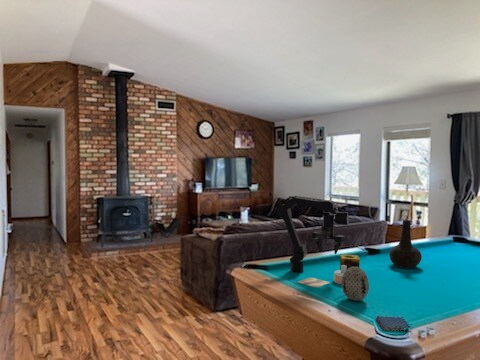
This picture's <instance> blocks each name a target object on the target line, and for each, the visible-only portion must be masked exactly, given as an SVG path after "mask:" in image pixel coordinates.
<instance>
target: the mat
mask: <svg viewBox="0 0 480 360" xmlns="http://www.w3.org/2000/svg"><path fill="white" fill-rule="evenodd" d="M297 283H298V284H303V285H305V286H310V287H313V288H316V289H317V288H320V287H322V286H325V285H327V284H330V283H331V282H330V281H326V280H322V279H318V278H315V277H307V278H304V279H301V280H299V281H297Z"/></svg>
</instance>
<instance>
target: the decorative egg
mask: <svg viewBox="0 0 480 360" xmlns="http://www.w3.org/2000/svg"><path fill="white" fill-rule="evenodd" d="M341 289H342V292H343V294H344V295H345V297H346V298H347V299H349V300H351V301H355V302H357V301H358V302H359V301H362V300H363V299H365V298H366V297H367V296H368V294H369V292H370V282H369V278H368V275H367V274H366V272H365V271H364V269H362V268H361V267H360V266H359V267H356V266H353V267H350V268H348V269H347V270H346V271H345V273H344V275H343V277H342V284H341Z"/></svg>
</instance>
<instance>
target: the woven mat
mask: <svg viewBox="0 0 480 360" xmlns="http://www.w3.org/2000/svg"><path fill="white" fill-rule="evenodd" d="M375 319H376V320H375V321H376V322H377V323H378V324H379V327H380V326H381V327H380V328H381V329H382V328H383V329H384V330H385V331H390V330H391V331H393V330H394V331H396V330H397V331H399V330H398V329H400V331H401V329H402V330H404V328H407V327H408V328H412V327H411V325H410V324H409V323H408V322H407V321H406V320H405V318H404V317H403V316H402V317H401V316H400V317H399V316H397V317H396V316H387V315H386V316H384V315H382V316H381V315H380V316H379V315H377V316H376V317H375ZM383 329H382V330H383ZM404 331H405V330H404Z"/></svg>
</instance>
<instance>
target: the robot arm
mask: <svg viewBox="0 0 480 360" xmlns="http://www.w3.org/2000/svg"><path fill="white" fill-rule="evenodd" d="M297 205H298V206H299V205H300V206H305V207H311V208H316V209H319V210H321V212H320V213H319V216H322V217H323V219H322V225H321V227H320V229H319V230H318V231H313V232H311V234H310V238H311V239H312V240H314V241H315V242H316V244H317V247H318V250H319V252H322V250H323V243H324V242H323V240H326V239H329V240H334V241H333V244H334V255H338V254H337V253H338V251H339V250H340V247H341V245H342V244H344V243H345V242H347V236H345V235H341V234H338V235H336V233H334V232H335V228H336V225H340V226H348V225H349V223H350V218H349V211H348V212H346V211H345V212H341V211H339V210H338V209H337V207H336V203H335V202H334V201H333V200H330V199H329V200H328V199H327V200H326V199H325V200H322V199H321V200H316V199H311V198H305V197H304V198H303V197H299V196H294V197H292V198H291V199H289V200H288V201H286V202H285V203H283V204H280V205H278V207H277V213H278V215H279V216H280V218H281V219H282V220H283V221H284V224H285V227H286V230H287V233H288V235H289V238H290V241H291V245H292V253H293V255H292V256H291V257H290V258H289V261H290V270H289V271H288V273H289V272H292V273H295V274H296V273H298V274H302V273H304V262H303V260H304V259H305V258H306V257H307V254H308V250H307V247H306V244H305V243H304V244H303V243H302V242H301V241H300V238H299V235H298V233H297V229H296V227H295V226H296V225H295V224H294V222H293V218H292V215H293V214H292V209H293V208H294V207H295V206H297ZM335 224H336V225H335Z"/></svg>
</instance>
